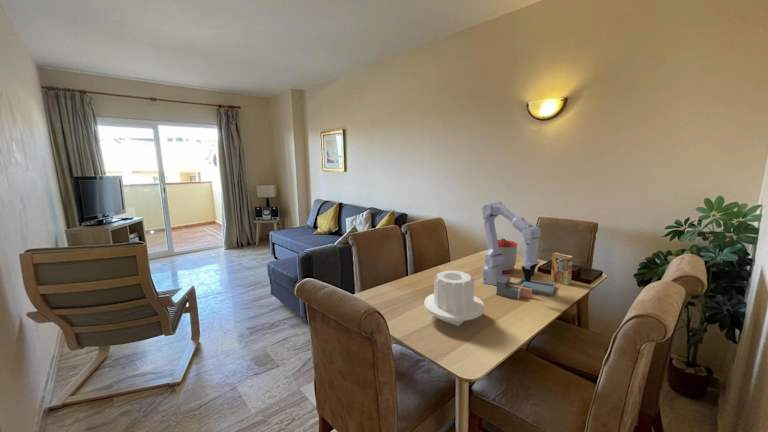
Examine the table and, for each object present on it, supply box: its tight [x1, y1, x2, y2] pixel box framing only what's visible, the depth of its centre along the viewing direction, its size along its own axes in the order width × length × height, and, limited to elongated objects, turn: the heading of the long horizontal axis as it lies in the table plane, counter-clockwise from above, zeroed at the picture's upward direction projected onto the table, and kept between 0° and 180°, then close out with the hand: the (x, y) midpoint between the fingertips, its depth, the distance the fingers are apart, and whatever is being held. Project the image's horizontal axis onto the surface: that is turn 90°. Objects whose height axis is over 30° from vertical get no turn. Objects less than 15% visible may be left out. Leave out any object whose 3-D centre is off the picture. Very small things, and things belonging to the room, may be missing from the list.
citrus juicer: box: [486, 237, 518, 274], centre depth 187 cm, size 16×17×20 cm
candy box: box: [550, 252, 574, 286], centre depth 167 cm, size 9×4×15 cm, turn 34°
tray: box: [517, 277, 557, 297], centre depth 162 cm, size 17×13×2 cm
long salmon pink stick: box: [508, 284, 533, 299], centre depth 154 cm, size 11×1×4 cm, turn 56°
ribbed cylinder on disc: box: [423, 269, 485, 327], centre depth 133 cm, size 25×25×19 cm
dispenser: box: [496, 274, 523, 300], centre depth 156 cm, size 10×10×7 cm
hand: (529, 278), depth 150 cm, fingers open, 7 cm apart
